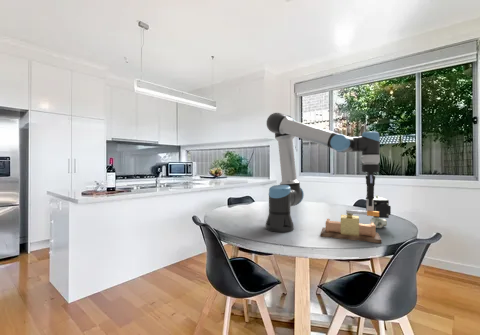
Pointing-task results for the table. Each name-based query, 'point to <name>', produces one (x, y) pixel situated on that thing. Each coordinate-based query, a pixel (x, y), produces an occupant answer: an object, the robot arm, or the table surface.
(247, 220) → the table surface
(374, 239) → the pipe board
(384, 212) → the ball valve
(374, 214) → the lever
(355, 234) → the valve body
